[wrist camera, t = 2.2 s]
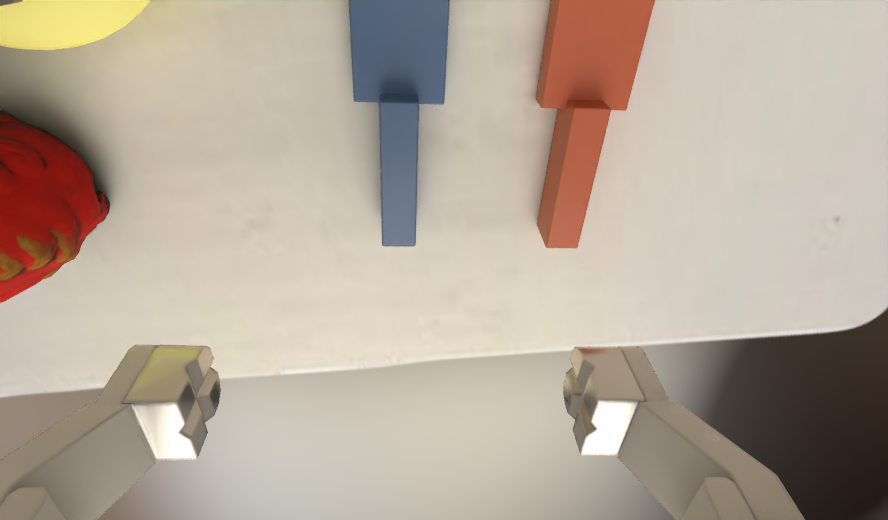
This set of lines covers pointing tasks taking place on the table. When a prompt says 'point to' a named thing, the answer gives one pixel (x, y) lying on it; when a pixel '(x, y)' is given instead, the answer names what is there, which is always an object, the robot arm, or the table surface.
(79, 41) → the emoji
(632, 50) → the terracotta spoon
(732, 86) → the table surface
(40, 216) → the red clay folk toy
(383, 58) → the paddle
